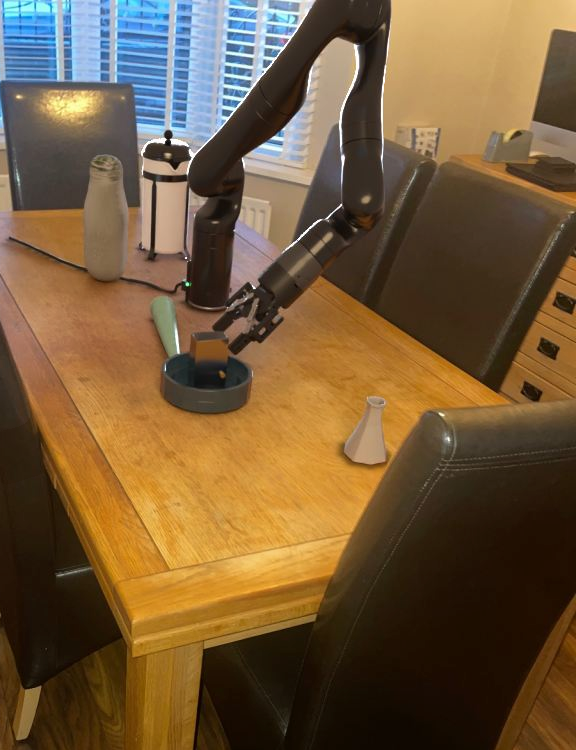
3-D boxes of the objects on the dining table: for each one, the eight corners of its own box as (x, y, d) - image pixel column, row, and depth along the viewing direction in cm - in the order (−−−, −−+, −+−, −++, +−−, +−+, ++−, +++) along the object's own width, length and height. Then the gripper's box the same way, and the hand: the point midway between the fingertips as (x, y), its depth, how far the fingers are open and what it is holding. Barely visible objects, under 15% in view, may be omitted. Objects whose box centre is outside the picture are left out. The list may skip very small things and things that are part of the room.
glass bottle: (78, 282, 187) (74, 156, 171) (98, 269, 195) (96, 148, 178) (115, 290, 184) (115, 162, 168) (134, 277, 192) (135, 154, 176)
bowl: (142, 395, 142) (142, 370, 140) (196, 367, 153) (197, 343, 150) (215, 426, 135) (217, 400, 132) (266, 394, 146) (269, 369, 143)
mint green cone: (165, 349, 146) (150, 295, 168) (164, 375, 150) (149, 320, 171) (193, 348, 147) (175, 295, 169) (192, 375, 151) (174, 320, 172)
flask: (338, 442, 133) (348, 389, 127) (379, 442, 134) (392, 390, 128) (348, 465, 127) (360, 411, 121) (392, 465, 128) (405, 411, 122)
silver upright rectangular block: (216, 383, 146) (221, 328, 140) (225, 395, 143) (230, 340, 136) (186, 386, 145) (189, 331, 138) (194, 399, 141) (198, 342, 135)
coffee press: (204, 252, 211) (212, 130, 193) (171, 266, 200) (177, 139, 182) (151, 238, 218) (155, 119, 200) (117, 252, 207) (117, 127, 189)
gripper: (263, 246, 138) (197, 312, 142) (295, 274, 128) (223, 345, 131) (286, 275, 143) (222, 338, 147) (319, 304, 132) (249, 371, 136)
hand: (222, 341), depth 139 cm, fingers open, 8 cm apart
